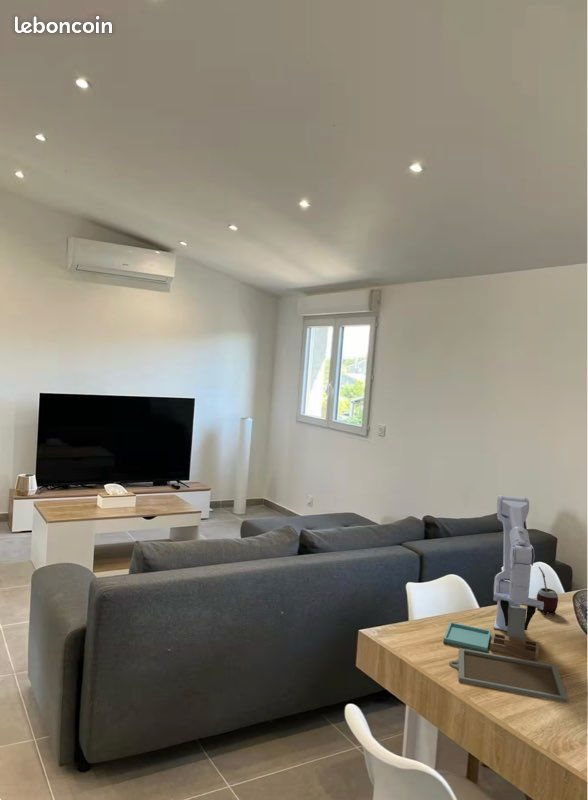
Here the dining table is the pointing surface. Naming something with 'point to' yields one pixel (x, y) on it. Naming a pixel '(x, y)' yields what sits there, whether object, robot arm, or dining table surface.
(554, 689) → the gray framed board
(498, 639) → the rack
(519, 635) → the slate gray block
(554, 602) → the mate gourd
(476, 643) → the tray
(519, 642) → the offcut upper
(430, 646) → the dining table surface
